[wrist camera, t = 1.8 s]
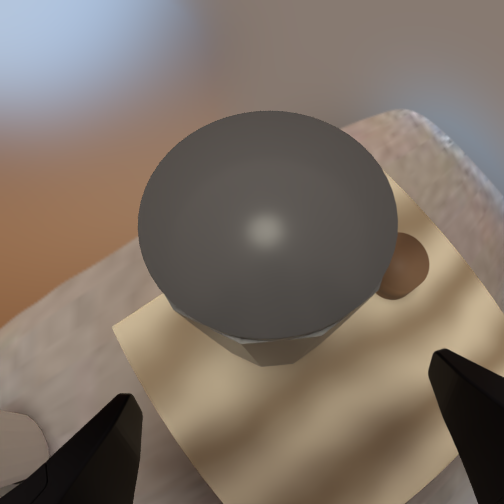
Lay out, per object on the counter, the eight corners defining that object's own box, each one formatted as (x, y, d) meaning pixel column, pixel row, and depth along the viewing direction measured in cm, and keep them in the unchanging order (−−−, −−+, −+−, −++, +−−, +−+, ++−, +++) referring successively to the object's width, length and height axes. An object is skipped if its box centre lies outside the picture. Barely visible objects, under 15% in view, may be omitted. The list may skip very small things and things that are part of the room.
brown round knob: (424, 278, 20) (439, 265, 18) (389, 311, 19) (402, 301, 17) (391, 238, 21) (402, 222, 19) (354, 268, 21) (363, 253, 18)
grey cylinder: (351, 319, 19) (444, 229, 8) (256, 388, 18) (227, 399, 7) (284, 234, 22) (289, 86, 11) (193, 294, 21) (105, 185, 9)
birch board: (523, 361, 17) (530, 359, 16) (289, 566, 13) (290, 572, 12) (369, 166, 25) (371, 159, 24) (118, 329, 21) (111, 327, 20)
